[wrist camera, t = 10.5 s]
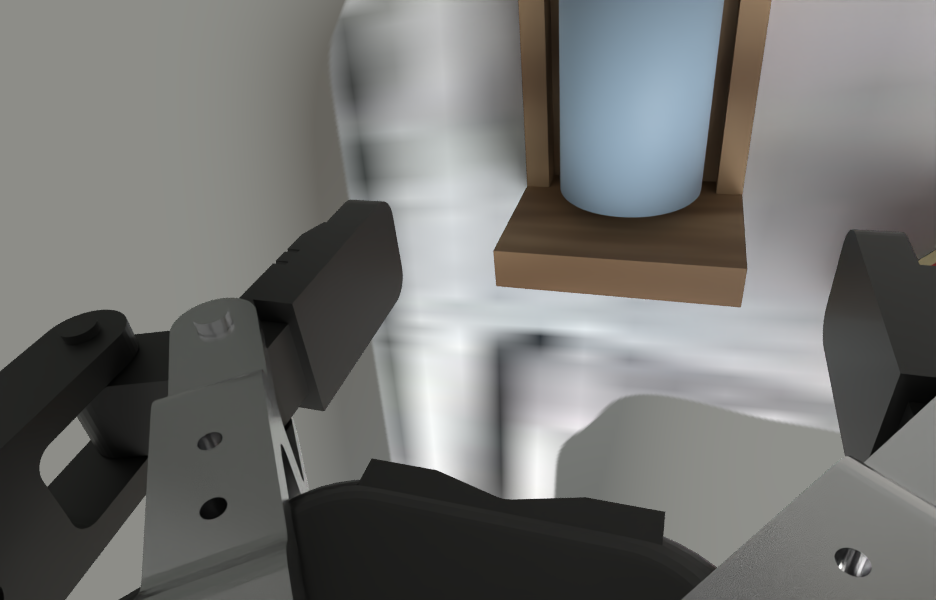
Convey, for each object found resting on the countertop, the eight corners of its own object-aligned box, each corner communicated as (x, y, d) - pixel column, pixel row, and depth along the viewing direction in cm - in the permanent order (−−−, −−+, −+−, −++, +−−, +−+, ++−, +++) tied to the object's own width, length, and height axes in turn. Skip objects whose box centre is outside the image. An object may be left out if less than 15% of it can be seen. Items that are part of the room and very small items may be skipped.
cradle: (525, -147, 24) (460, -137, 18) (792, -177, 22) (821, -177, 16) (538, 197, 32) (496, 285, 26) (735, 205, 30) (740, 307, 23)
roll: (601, -86, 25) (527, -65, 21) (755, -92, 22) (701, -69, 18) (595, 157, 30) (536, 207, 26) (718, 177, 27) (670, 236, 24)
